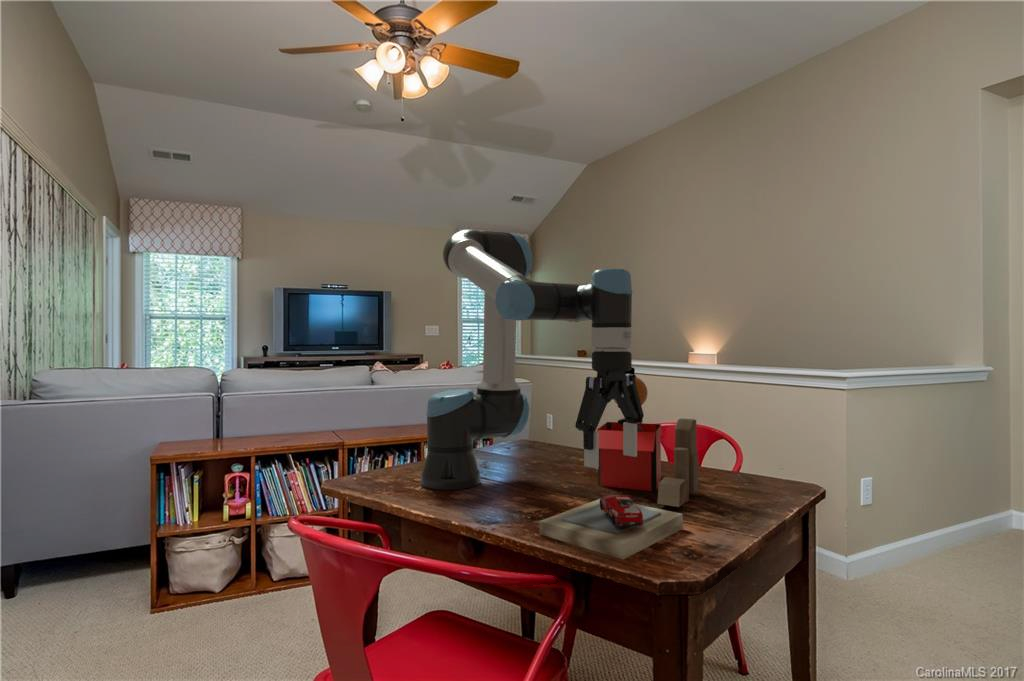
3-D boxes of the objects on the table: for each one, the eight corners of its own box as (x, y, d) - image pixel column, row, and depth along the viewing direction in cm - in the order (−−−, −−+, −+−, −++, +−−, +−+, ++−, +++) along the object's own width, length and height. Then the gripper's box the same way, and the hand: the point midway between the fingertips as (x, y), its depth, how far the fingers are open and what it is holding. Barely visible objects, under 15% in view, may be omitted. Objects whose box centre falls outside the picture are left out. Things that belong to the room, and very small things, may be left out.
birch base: (539, 537, 106) (539, 519, 106) (604, 511, 122) (604, 495, 122) (622, 561, 94) (622, 541, 94) (682, 529, 110) (682, 511, 110)
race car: (596, 506, 112) (597, 486, 111) (623, 505, 112) (623, 485, 112) (616, 531, 99) (616, 508, 98) (646, 530, 99) (646, 507, 99)
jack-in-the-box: (607, 469, 163) (606, 365, 163) (663, 473, 157) (662, 365, 157) (588, 491, 138) (588, 369, 138) (653, 497, 133) (653, 369, 133)
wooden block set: (675, 490, 139) (675, 417, 139) (699, 494, 136) (698, 419, 136) (653, 508, 125) (653, 426, 125) (679, 512, 122) (678, 428, 122)
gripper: (590, 351, 97) (590, 475, 97) (660, 349, 115) (660, 453, 115) (555, 351, 102) (556, 469, 102) (628, 349, 120) (628, 449, 120)
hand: (611, 461), depth 108 cm, fingers open, 13 cm apart
